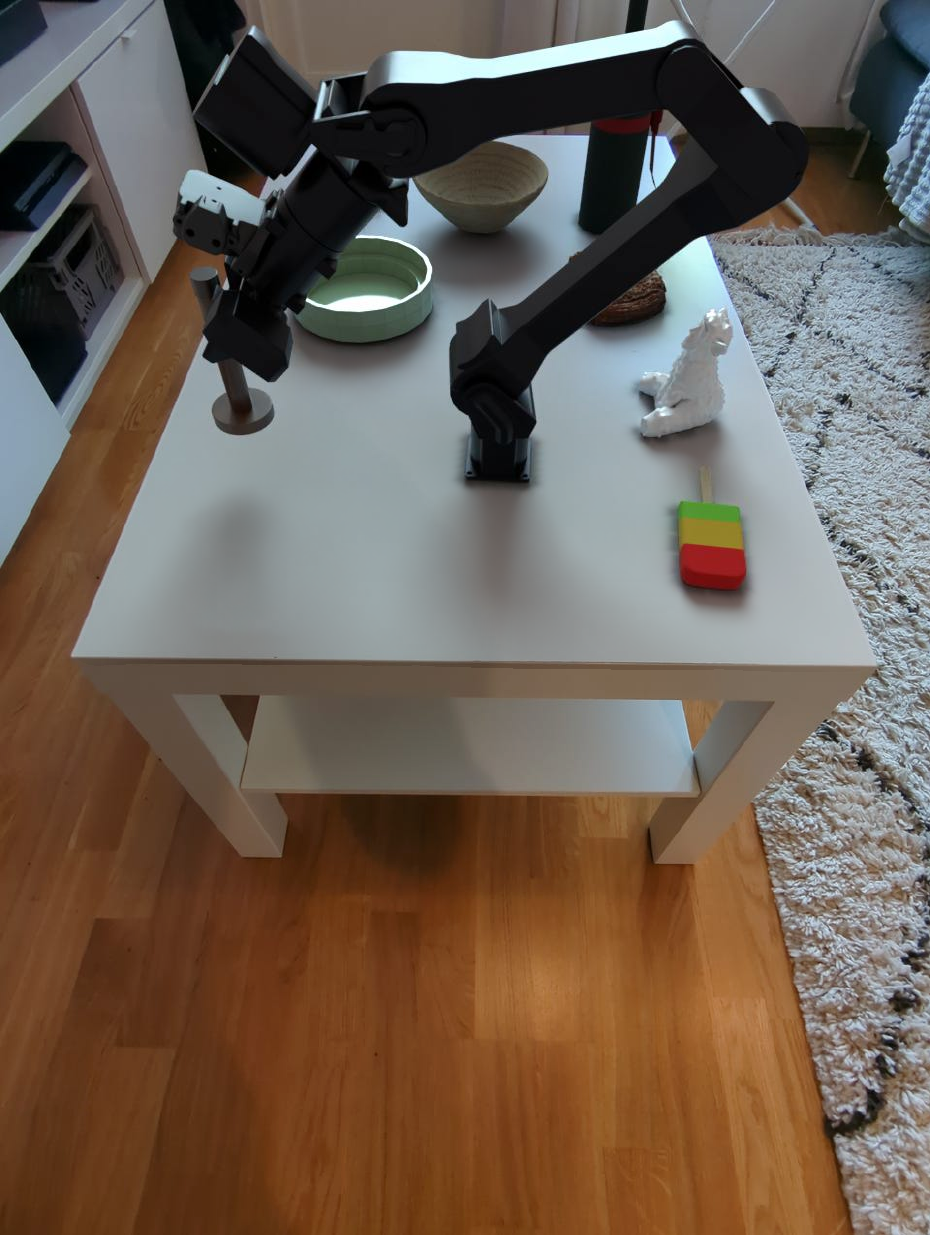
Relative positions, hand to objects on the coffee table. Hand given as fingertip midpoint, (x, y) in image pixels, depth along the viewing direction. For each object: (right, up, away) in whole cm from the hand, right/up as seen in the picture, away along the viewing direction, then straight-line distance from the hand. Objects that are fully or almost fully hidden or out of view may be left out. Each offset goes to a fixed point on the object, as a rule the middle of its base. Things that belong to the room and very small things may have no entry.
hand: (209, 351), depth 65 cm
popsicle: (+45, -15, +5) cm, 48 cm away
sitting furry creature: (+45, -1, +16) cm, 48 cm away
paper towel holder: (+1, -4, +6) cm, 7 cm away
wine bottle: (+43, +33, +41) cm, 68 cm away
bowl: (+24, +31, +40) cm, 56 cm away
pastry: (+41, +17, +29) cm, 53 cm away
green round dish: (+10, +15, +28) cm, 33 cm away
